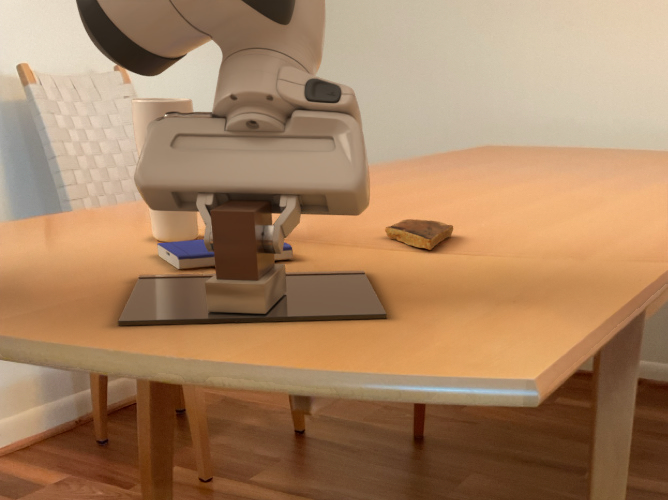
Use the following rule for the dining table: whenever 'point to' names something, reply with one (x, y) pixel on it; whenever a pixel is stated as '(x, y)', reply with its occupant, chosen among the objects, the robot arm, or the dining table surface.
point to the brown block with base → (243, 260)
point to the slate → (295, 305)
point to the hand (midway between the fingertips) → (243, 249)
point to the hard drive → (199, 254)
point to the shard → (419, 232)
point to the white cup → (143, 112)
